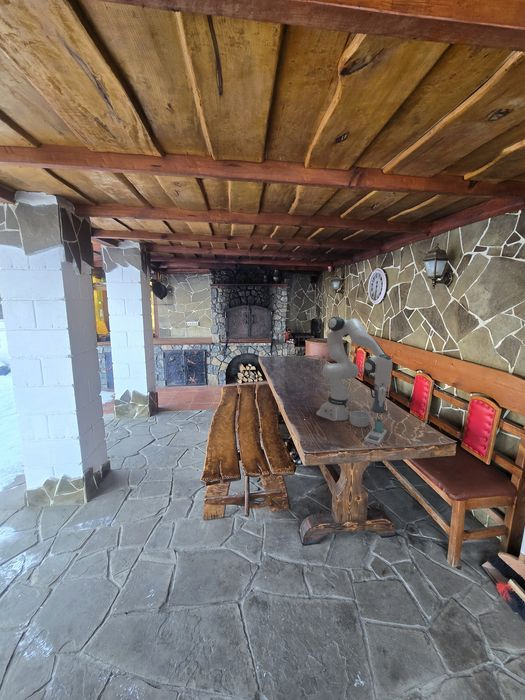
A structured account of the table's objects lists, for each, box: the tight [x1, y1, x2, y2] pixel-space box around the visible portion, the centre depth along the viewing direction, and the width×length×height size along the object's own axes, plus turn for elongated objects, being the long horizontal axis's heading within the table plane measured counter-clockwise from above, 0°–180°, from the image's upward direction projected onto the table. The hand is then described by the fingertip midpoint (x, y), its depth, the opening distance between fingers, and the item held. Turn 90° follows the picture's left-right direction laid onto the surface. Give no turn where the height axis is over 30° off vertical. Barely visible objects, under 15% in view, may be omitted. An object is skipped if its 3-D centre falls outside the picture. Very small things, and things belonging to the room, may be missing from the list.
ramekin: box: [348, 410, 371, 428], centre depth 187 cm, size 13×13×7 cm
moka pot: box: [369, 385, 390, 414], centre depth 211 cm, size 10×15×20 cm, turn 39°
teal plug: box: [374, 418, 384, 433], centre depth 173 cm, size 4×4×9 cm
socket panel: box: [363, 426, 388, 446], centre depth 169 cm, size 8×20×2 cm, turn 145°
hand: (380, 403), depth 171 cm, fingers open, 8 cm apart
